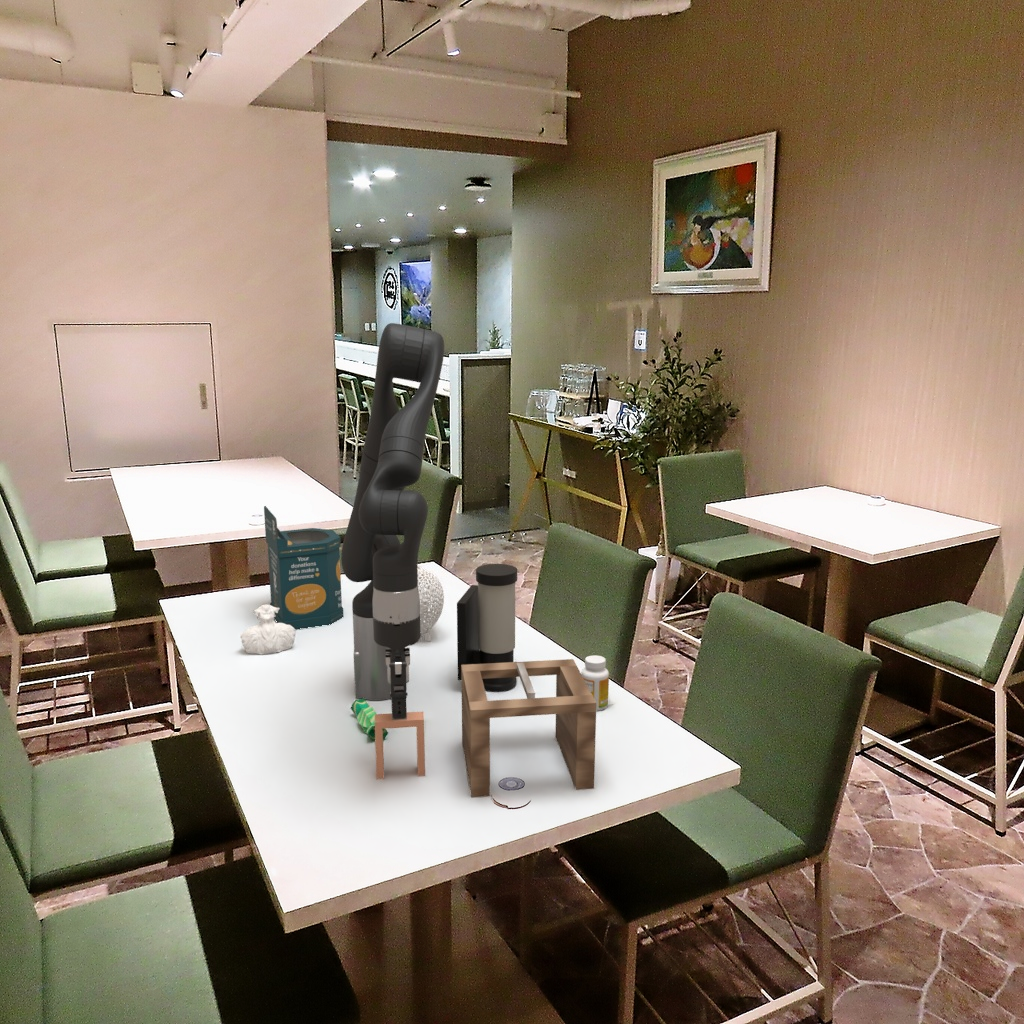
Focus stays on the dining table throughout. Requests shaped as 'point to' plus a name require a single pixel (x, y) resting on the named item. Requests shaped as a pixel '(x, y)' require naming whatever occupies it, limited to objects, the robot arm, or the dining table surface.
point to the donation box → (304, 574)
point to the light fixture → (488, 622)
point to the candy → (366, 718)
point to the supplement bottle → (597, 679)
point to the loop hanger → (389, 722)
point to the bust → (268, 633)
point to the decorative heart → (435, 592)
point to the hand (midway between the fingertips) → (399, 706)
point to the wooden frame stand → (568, 705)
